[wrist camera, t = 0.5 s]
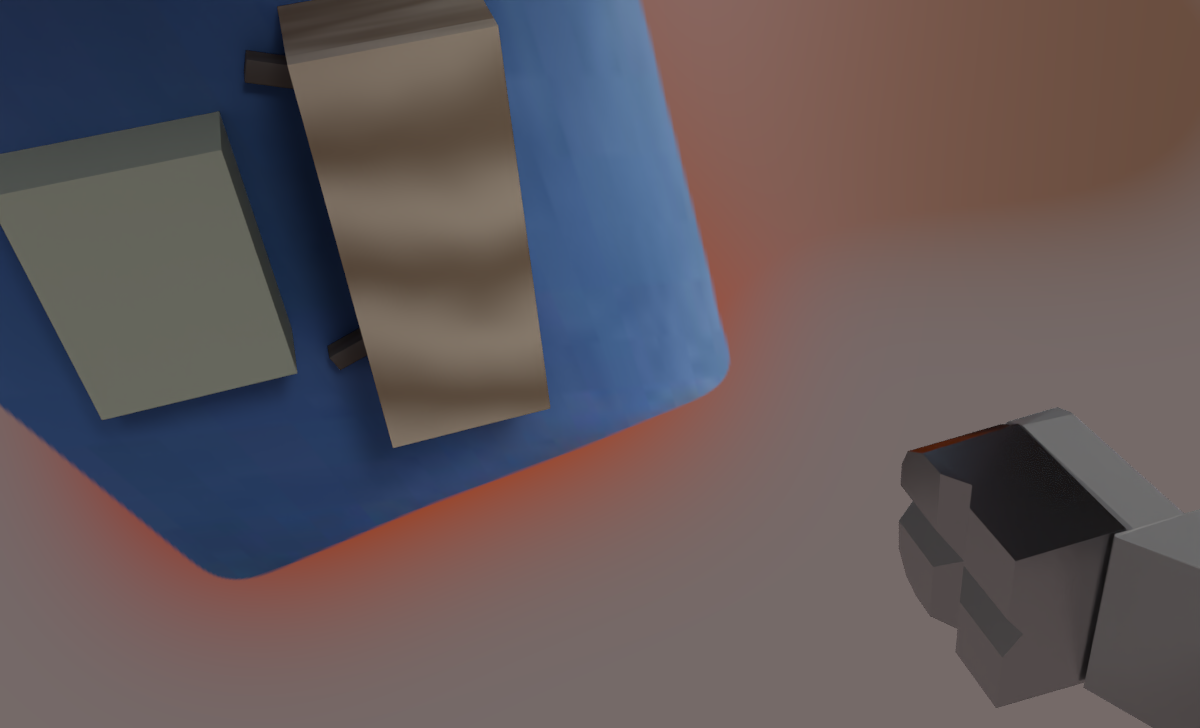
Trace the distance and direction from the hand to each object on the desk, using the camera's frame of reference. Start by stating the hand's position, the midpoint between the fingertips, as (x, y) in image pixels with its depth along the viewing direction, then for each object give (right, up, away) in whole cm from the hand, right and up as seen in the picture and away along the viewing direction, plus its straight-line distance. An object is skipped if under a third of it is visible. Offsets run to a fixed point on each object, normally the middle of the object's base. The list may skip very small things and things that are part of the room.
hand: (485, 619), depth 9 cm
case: (-19, +8, +40) cm, 45 cm away
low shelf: (-9, +10, +41) cm, 44 cm away
